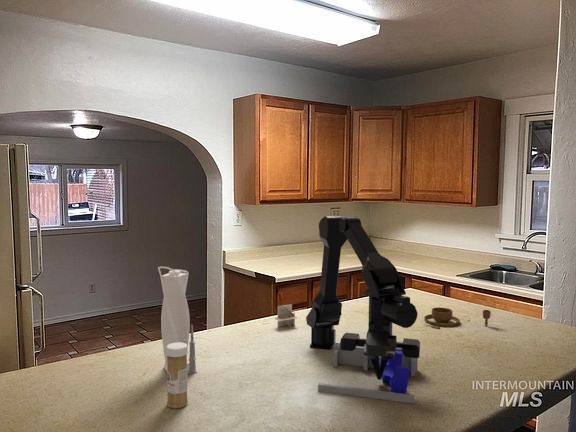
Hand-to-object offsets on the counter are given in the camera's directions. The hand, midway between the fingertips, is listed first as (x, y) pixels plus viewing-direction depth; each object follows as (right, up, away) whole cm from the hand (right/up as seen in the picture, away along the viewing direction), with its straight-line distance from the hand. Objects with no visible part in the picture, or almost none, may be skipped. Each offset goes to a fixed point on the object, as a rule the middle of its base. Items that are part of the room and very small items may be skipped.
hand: (379, 379), depth 118 cm
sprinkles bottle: (-47, -2, -11) cm, 48 cm away
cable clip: (+3, -1, 0) cm, 3 cm away
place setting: (+35, +2, +49) cm, 60 cm away
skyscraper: (-51, -1, +8) cm, 52 cm away
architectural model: (-23, +2, +46) cm, 52 cm away
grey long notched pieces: (-2, -1, +2) cm, 3 cm away
